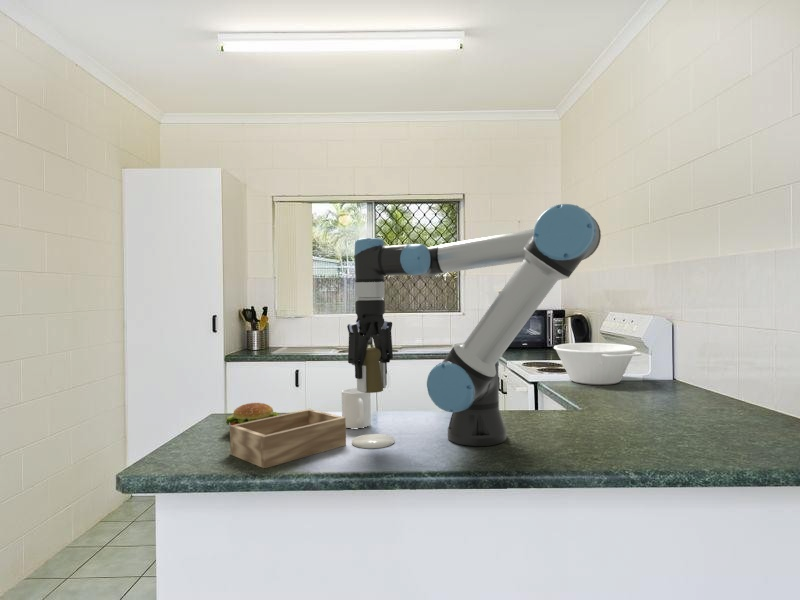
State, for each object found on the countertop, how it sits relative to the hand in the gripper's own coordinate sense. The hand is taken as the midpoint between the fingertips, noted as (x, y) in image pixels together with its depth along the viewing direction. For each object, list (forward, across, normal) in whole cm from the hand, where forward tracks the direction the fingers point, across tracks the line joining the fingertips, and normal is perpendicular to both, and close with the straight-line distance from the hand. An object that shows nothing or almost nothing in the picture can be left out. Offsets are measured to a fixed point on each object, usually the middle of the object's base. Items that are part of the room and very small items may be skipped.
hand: (371, 389), depth 137 cm
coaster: (+14, 0, 0) cm, 14 cm away
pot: (+14, -118, +5) cm, 119 cm away
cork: (+1, 0, 0) cm, 1 cm away
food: (+14, +15, -34) cm, 40 cm away
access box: (+14, +18, -11) cm, 25 cm away
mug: (+14, -7, -14) cm, 21 cm away
